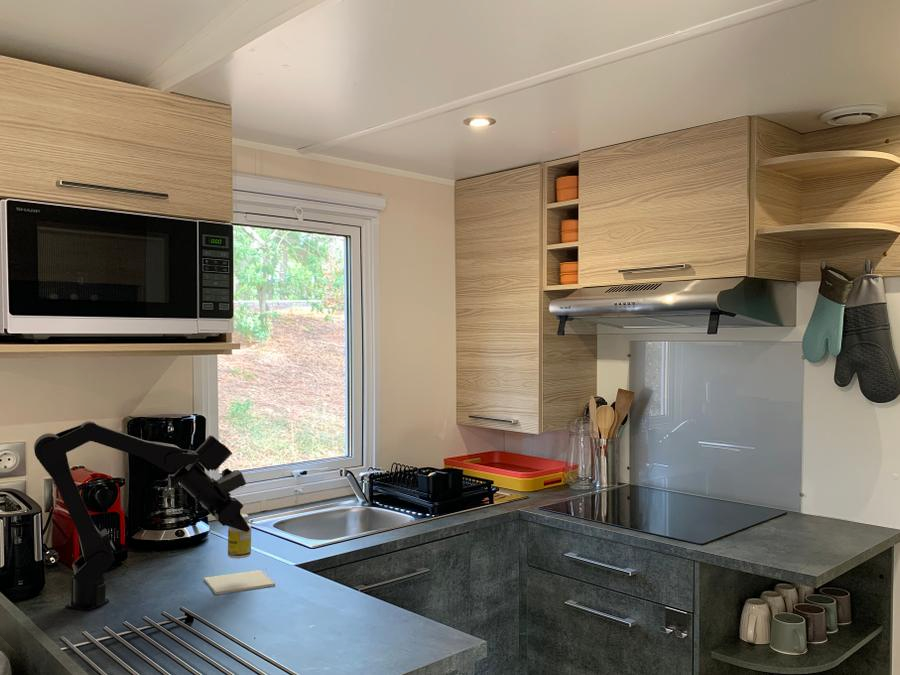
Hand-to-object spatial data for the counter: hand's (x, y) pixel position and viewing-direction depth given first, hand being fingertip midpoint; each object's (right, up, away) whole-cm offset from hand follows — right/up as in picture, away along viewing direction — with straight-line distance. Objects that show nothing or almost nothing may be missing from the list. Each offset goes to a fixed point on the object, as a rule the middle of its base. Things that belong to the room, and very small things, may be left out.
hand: (245, 527), depth 185 cm
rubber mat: (-1, -13, 0) cm, 13 cm away
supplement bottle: (-1, -7, -1) cm, 7 cm away
